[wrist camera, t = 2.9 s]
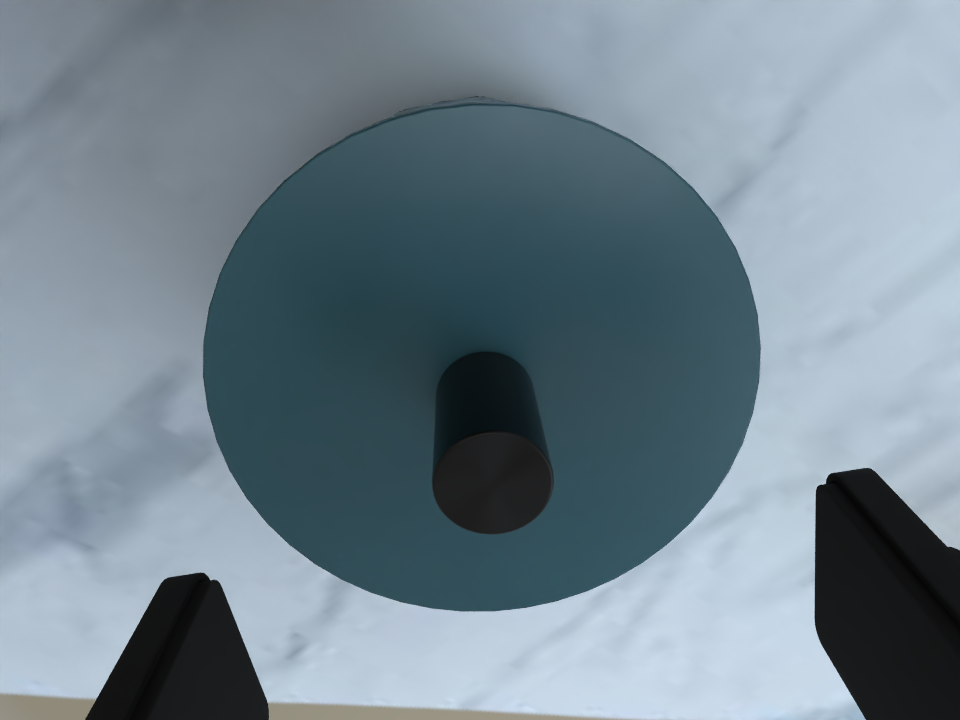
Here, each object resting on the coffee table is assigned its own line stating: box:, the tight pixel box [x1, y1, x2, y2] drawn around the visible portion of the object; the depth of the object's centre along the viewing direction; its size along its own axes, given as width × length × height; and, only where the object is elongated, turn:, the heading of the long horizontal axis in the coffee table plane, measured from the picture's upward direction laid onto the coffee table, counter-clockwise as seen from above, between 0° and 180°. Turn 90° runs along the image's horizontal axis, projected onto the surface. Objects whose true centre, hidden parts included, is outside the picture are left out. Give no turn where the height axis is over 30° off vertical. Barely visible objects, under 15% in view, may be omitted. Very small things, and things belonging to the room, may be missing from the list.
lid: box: [203, 102, 761, 611], centre depth 17 cm, size 14×14×5 cm
